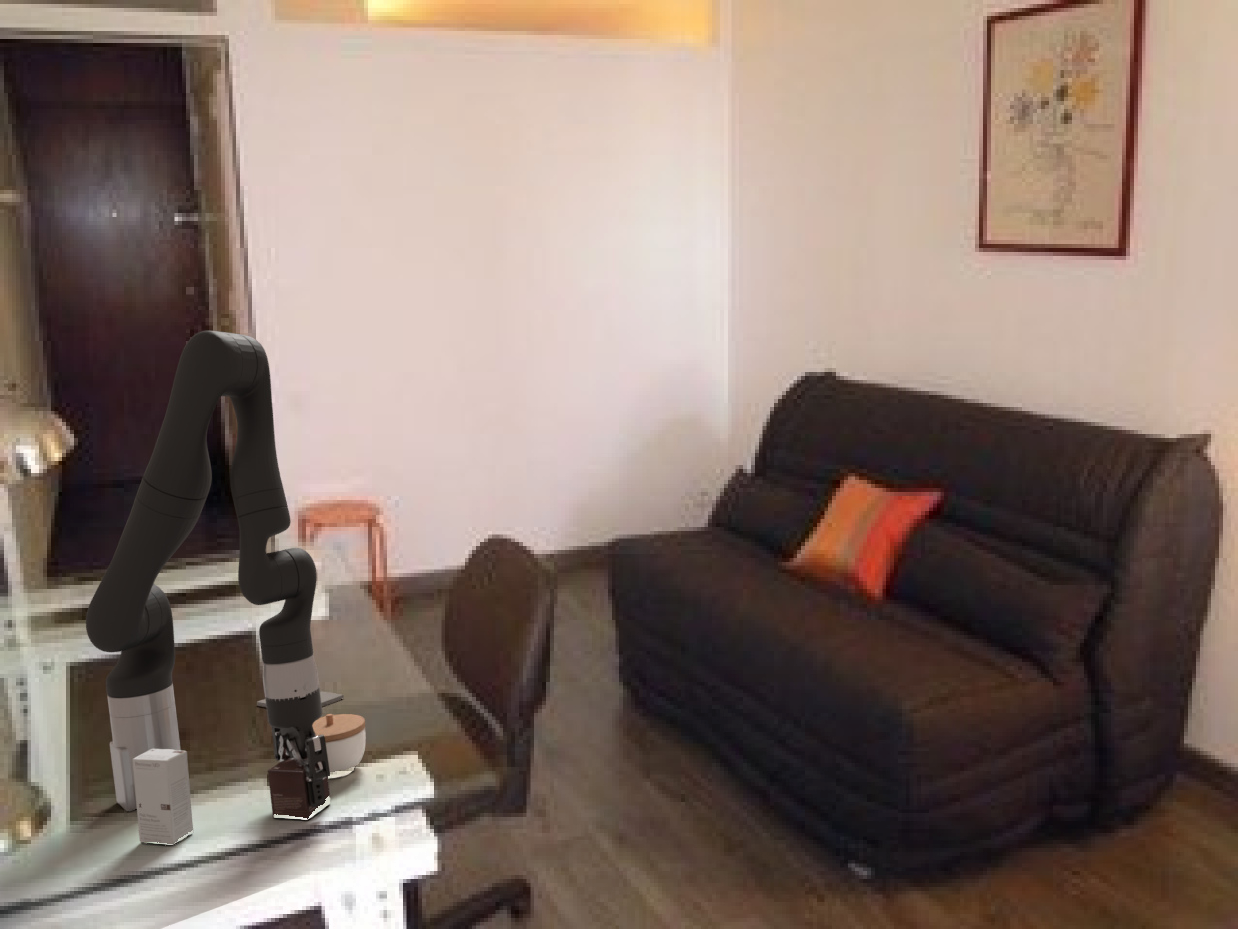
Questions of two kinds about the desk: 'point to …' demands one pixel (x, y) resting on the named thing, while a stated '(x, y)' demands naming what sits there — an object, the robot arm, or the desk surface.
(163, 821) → the skincare box
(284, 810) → the box
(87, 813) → the desk surface
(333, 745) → the lidded jar
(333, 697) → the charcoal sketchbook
